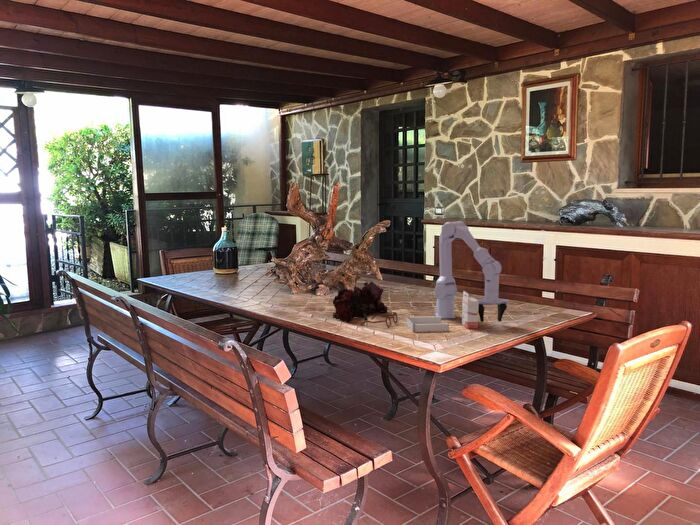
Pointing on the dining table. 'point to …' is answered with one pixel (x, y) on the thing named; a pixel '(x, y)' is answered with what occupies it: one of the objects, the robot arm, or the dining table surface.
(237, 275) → the dining table surface
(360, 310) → the flower arrangement
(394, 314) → the glasses
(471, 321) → the ink cartridge box
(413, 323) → the sorting bay
